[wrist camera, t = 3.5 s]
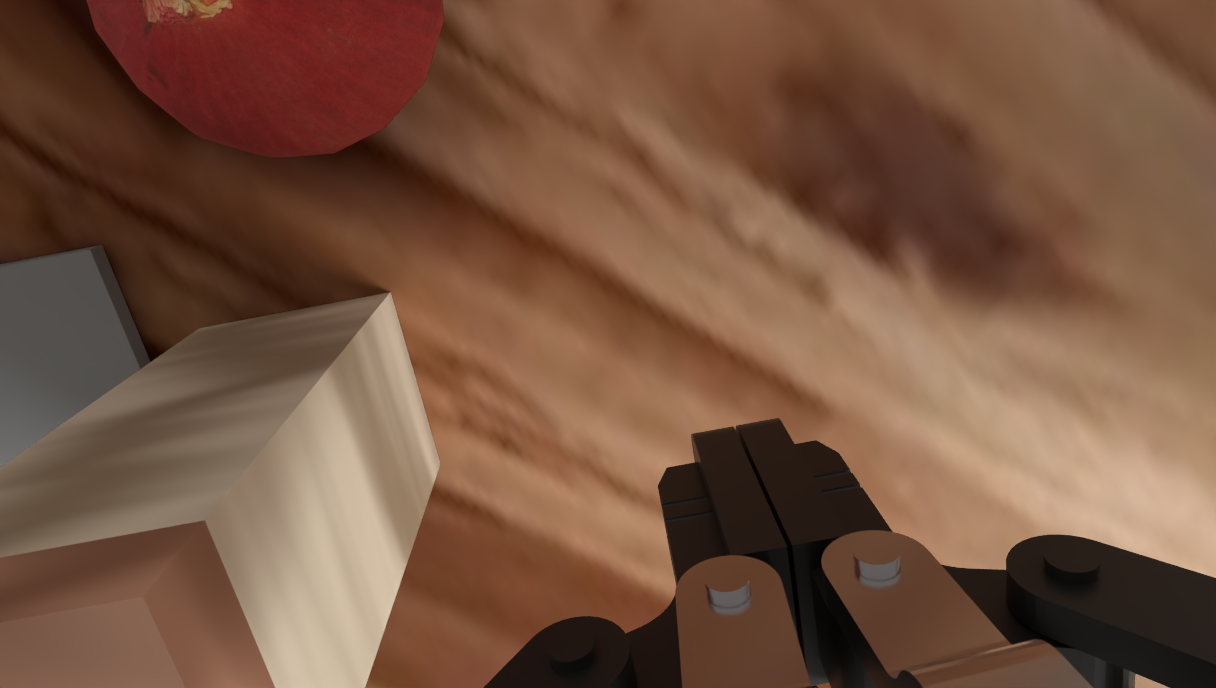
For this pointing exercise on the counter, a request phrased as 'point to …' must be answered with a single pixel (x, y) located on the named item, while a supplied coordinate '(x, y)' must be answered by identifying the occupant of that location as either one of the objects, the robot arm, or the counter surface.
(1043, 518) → the counter surface
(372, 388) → the beech block
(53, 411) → the mat
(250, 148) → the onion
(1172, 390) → the counter surface
